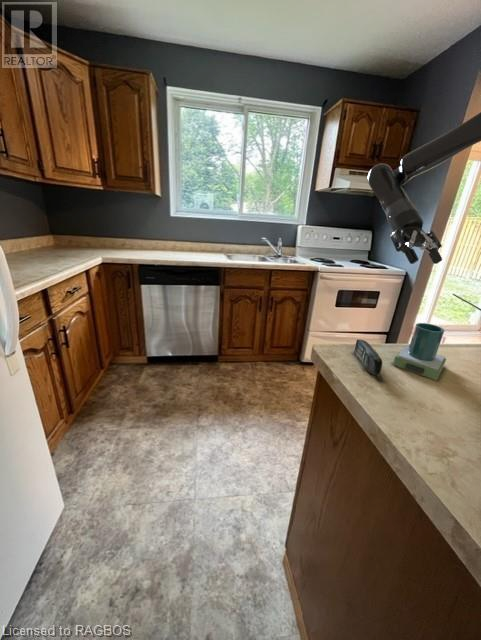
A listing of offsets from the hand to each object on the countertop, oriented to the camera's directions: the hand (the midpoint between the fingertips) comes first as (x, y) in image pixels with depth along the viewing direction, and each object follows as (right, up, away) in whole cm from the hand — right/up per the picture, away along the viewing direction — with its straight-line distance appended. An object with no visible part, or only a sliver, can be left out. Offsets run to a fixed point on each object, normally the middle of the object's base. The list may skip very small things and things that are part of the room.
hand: (426, 262), depth 75 cm
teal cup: (-3, -26, -2) cm, 26 cm away
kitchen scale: (-3, -29, -1) cm, 29 cm away
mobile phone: (-18, -29, -3) cm, 34 cm away
